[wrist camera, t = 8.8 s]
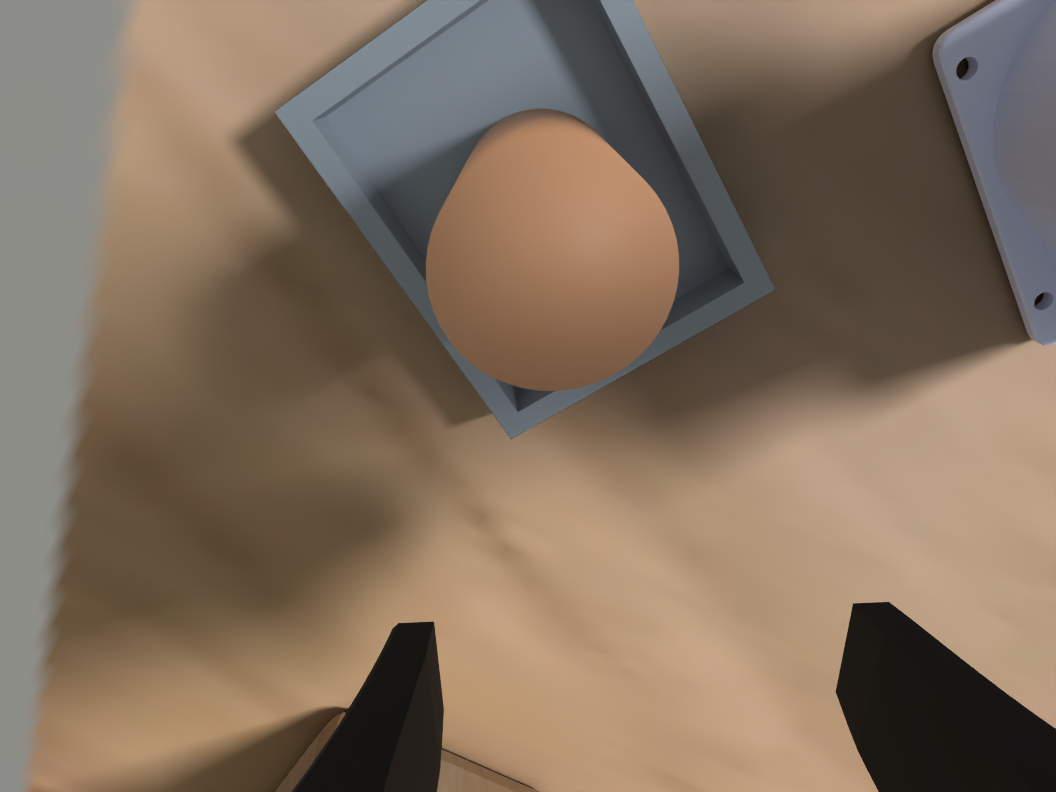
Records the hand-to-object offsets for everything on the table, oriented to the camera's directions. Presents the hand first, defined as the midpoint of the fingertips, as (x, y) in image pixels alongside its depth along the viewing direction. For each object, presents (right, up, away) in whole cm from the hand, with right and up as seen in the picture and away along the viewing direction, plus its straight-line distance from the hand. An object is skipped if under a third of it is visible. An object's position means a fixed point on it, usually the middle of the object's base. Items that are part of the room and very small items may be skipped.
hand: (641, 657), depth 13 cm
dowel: (-2, +10, +6) cm, 12 cm away
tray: (-2, +10, +7) cm, 12 cm away
